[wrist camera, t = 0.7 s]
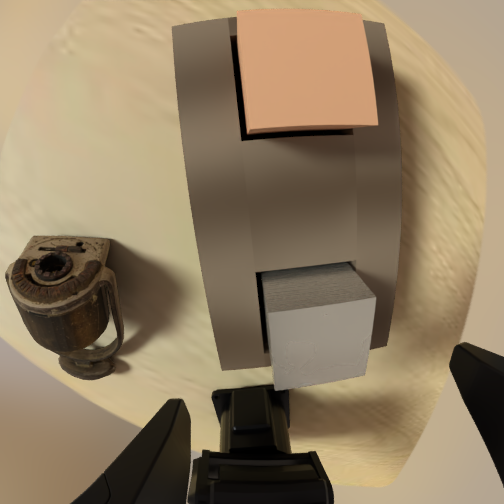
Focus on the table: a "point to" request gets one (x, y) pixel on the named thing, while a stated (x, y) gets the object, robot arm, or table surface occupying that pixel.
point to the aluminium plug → (317, 324)
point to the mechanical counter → (68, 300)
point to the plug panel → (283, 192)
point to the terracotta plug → (304, 71)
